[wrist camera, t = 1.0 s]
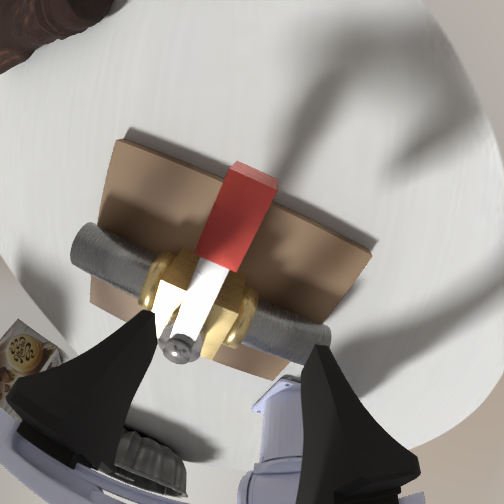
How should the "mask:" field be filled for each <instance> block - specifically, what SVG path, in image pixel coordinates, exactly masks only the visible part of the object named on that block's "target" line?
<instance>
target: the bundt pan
mask: <svg viewBox="0 0 504 504" xmlns="http://www.w3.org/2000/svg"><path fill="white" fill-rule="evenodd" d="M107 475H109V476H111V477H113V478H116V479H118V480H120V481H123V482H125V483H127V484H130V485H133V486H136V487H138V488H141V489H144V490H147V491H151V492H154V493H159V494H162V495H168V496H173V497H179V498H181V497H188V495H186V469H185V466H184V463H183V461H182V460H181V458H180V457H179V456H178V455H176V454H175V453H173V452H172V450H171V449H170V448H169V447H167V446H165V445H161V444H158V443H157V442H156V441H155V440H153V439H151V438H147V437H141V436H140V435H139V434H138V432H137V431H131V432H128V431H127V430H126V429H125V428H124V427H123V429H122V433H121V436H120V440H119V444H118V448H117V453H116V458H115V463H114V468H113V472H111V473H108V474H107Z"/></svg>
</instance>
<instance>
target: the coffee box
mask: <svg viewBox="0 0 504 504" xmlns="http://www.w3.org/2000/svg"><path fill="white" fill-rule="evenodd" d="M59 365H61V360H60V355H59V350H58V347H57V346H56V345H55V344H53V343H51V342H50V341H48V340H47V339H45V338H44V337H42V336H41V335H40V334H38V333H37V332H35V331H34V330H33V329H31V328H30V327H29V326H27V325H26V324H25V323H23V322H22V321H21V320H19V319H17V321H16V322H15V323H14V324H13V325H12V326H11V327H10V328H9V330H8V331H7V332H6V333H5V334H4V335H3V337H2V338H1V339H0V408H2V409H3V410H4V411H6V412H7V413H8V414H9V415H11V416H12V417H13V418H14V419H15V420H17V421H18V422H19V423H21V422H22V419H21V417H20V416H19V415H18V414H17V413H16V412H15V411H14V410H13V409H12V408H11V406H10V405H9V404H8V403H7V401H6V398H5V397H6V395H7V393H8V392H9V390H10V389H11V387H12V386H13V384H14V383H15V381H16V380H17V379H18V378H19V377H23V376H28V375H32V374H36V373H39V372H42V371H45V370H48V369H51V368H54V367H56V366H59Z"/></svg>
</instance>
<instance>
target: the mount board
mask: <svg viewBox="0 0 504 504" xmlns="http://www.w3.org/2000/svg"><path fill="white" fill-rule="evenodd" d="M223 181H224V179H223V178H221V177H218V176H216V175H214V174H211V173H209V172H207V171H204V170H202V169H200V168H197V167H195V166H192V165H190V164H188V163H185V162H183V161H180V160H178V159H175V158H173V157H170V156H168V155H165V154H163V153H160V152H157V151H155V150H152V149H150V148H147V147H144V146H142V145H139V144H136V143H134V142H131V141H128V140H125V139H119V140H116V142H115V145H114V149H113V152H112V156H111V160H110V164H109V168H108V172H107V176H106V181H105V185H104V190H103V195H102V200H101V205H100V211H99V217H98V223H97V225H98V226H100V227H102V228H104V229H106V230H108V231H110V232H112V233H114V234H116V235H118V236H120V237H122V238H124V239H126V240H128V241H131V242H133V243H135V244H137V245H139V246H141V247H143V248H145V249H147V250H149V251H151V252H154V253H156V254H159V253H160V252H161V251H162V250H166V251H168V252H170V253H172V254H174V255H177V256H178V254H179V253H180V251H181V250H182V248H183V247H185V248H187V249H190V250H192V251H194V252H195V250H196V247H197V245H198V242H199V239H200V237H201V234H202V232H203V229H204V227H205V224H206V222H207V219H208V217H209V214H210V212H211V210H212V207H213V205H214V202H215V200H216V198H217V195H218V193H219V191H220V188H221V186H222V184H223ZM371 257H372V254H371V253H370V251H369V250H368V249H366V248H364V247H362V246H361V245H359V244H357V243H355V242H353V241H351V240H349V239H347V238H346V237H344V236H342V235H340V234H338V233H336V232H334V231H332V230H330V229H328V228H326V227H324V226H322V225H321V224H319V223H317V222H315V221H313V220H311V219H309V218H307V217H305V216H303V215H301V214H299V213H296V212H294V211H292V210H290V209H288V208H286V207H284V206H282V205H280V204H278V203H276V202H274V201H272V203H271V205H270V207H269V209H268V211H267V212H266V214H265V216H264V218H263V220H262V222H261V224H260V226H259V228H258V230H257V232H256V234H255V236H254V238H253V240H252V242H251V244H250V246H249V248H248V250H247V252H246V254H245V256H244V258H243V260H242V262H241V264H240V266H239V268H238V270H237V271H239V272H242V273H244V274H246V275H247V276H246V281H245V286H247V287H249V288H252V289H254V290H256V291H258V292H259V299H260V300H263V301H265V302H268V303H270V304H273V305H275V306H278V307H280V308H282V309H285V310H287V311H290V312H293V313H295V314H298V315H300V316H303V317H305V318H308V319H310V320H313V321H316V322H318V323H321V324H323V322H324V321H325V320H326V319H327V317H328V316H329V315H330V314H331V312H332V311H333V310H334V308H335V307H336V306H337V304H338V303H339V302H340V301H341V299H342V298H343V297H344V295H345V294H346V293H347V291H348V290H349V289H350V287H351V286H352V284H353V283H354V282H355V280H356V279H357V278H358V276H359V275H360V273H361V272H362V270H363V269H364V268H365V266H366V265H367V263H368V262H369V260H370V259H371ZM90 303H92V304H94V305H96V306H97V307H99V308H101V309H103V310H104V311H106V312H108V313H110V314H112V315H114V316H116V317H118V318H119V319H121V320H123V321H125V322H128V321H129V320H130V319H132V318H133V317H134V316H135V315H136V314H138V313H139V312H140V311H141V310H143V309H141V308H139V307H138V299H136V298H134V297H132V296H130V295H128V294H126V293H124V292H122V291H120V290H118V289H116V288H114V287H112V286H110V285H109V284H107V283H105V282H103V281H101V280H99V279H98V278H96V277H94V276H92V275H91V288H90ZM212 360H213V361H216V362H218V363H221V364H224V365H226V366H229V367H232V368H235V369H238V370H241V371H244V372H247V373H250V374H253V375H256V376H259V377H262V378H265V379H268V380H272V381H273V380H274V379H275V378H276V377H277V376H278V375H279V373H280V372H281V371H282V370H283V369H284V368H285V367H286V366H287V365H288V364H289V362H290V361H288V360H285V359H282V358H279V357H276V356H273V355H270V354H267V353H264V352H261V351H258V350H256V349H253V348H250V347H247V346H245V345H242V344H240V345H239V346H238V347H237V348H236V349H233V348H231V347H228V346H226V345H223V344H221V346H220V347H219V349H218V351H217V353H216V354H215V356H214V358H213V359H212Z"/></svg>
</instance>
